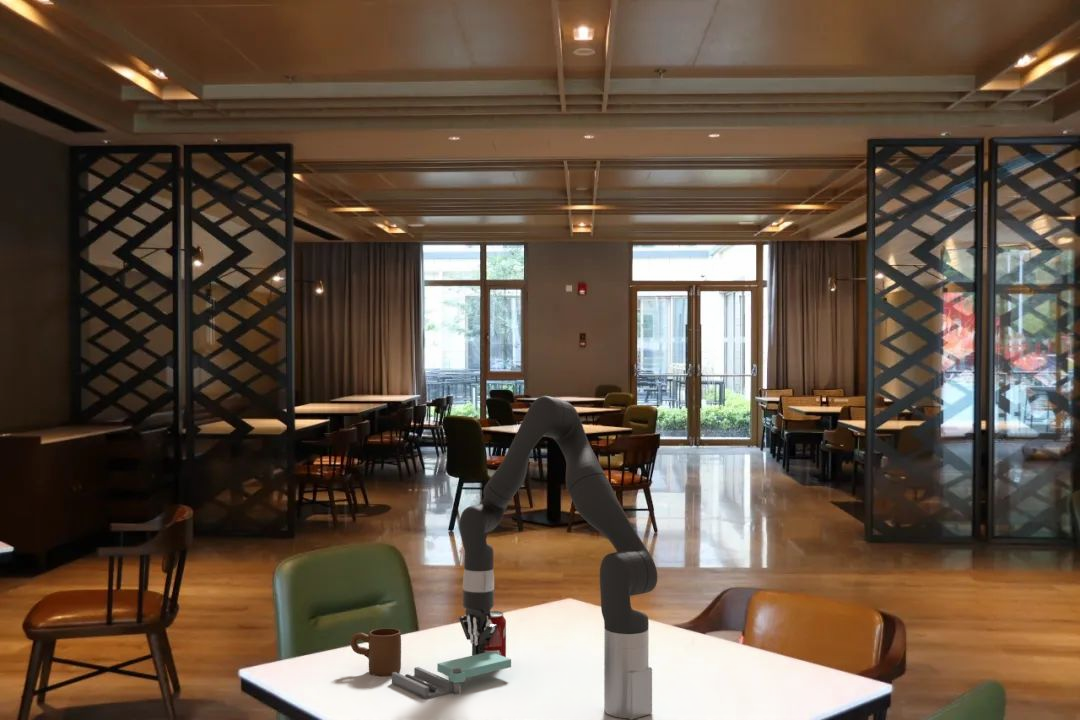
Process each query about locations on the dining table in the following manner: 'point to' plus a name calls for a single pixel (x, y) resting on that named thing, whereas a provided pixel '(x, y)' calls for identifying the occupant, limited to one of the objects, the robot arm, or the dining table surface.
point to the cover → (473, 666)
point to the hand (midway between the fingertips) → (477, 659)
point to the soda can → (497, 635)
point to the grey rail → (424, 683)
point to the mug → (380, 650)
